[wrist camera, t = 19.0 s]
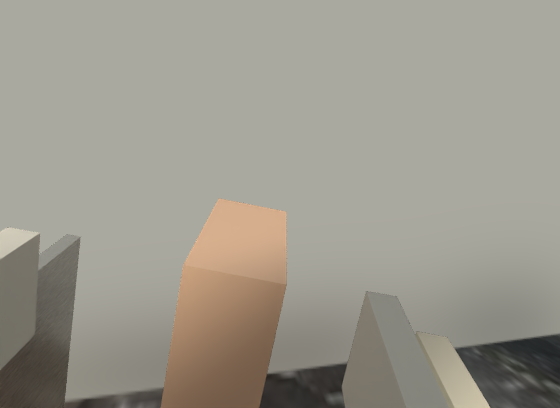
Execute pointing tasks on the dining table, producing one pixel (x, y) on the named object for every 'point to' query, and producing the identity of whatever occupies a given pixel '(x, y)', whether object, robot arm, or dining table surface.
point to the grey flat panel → (46, 334)
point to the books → (450, 372)
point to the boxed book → (228, 309)
